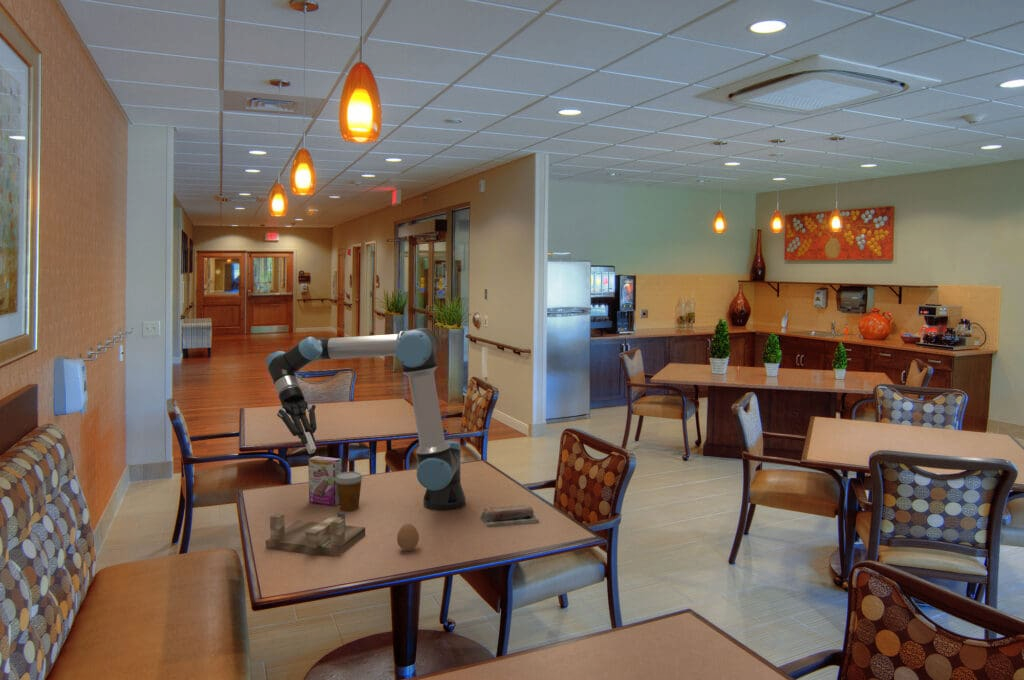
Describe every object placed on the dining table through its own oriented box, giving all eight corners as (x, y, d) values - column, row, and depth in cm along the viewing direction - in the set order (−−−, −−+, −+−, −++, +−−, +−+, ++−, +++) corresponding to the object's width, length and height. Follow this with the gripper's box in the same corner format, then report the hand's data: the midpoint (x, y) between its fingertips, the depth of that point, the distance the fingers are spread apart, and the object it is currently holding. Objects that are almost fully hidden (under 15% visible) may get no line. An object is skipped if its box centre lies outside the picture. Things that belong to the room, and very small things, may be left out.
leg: (332, 530, 222) (332, 516, 222) (342, 531, 221) (342, 517, 221) (305, 546, 209) (305, 531, 209) (315, 547, 208) (315, 533, 208)
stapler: (486, 514, 233) (480, 504, 242) (486, 528, 233) (480, 518, 243) (539, 510, 237) (531, 500, 247) (539, 524, 238) (531, 514, 247)
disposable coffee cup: (366, 504, 256) (366, 471, 254) (358, 513, 246) (357, 479, 245) (340, 503, 257) (340, 470, 255) (331, 512, 247) (330, 478, 246)
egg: (403, 545, 218) (403, 519, 217) (422, 547, 216) (422, 521, 215) (393, 553, 212) (393, 526, 211) (413, 555, 210) (412, 528, 209)
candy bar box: (308, 503, 257) (307, 458, 255) (316, 499, 261) (315, 455, 260) (335, 506, 253) (334, 461, 251) (342, 502, 258) (342, 458, 256)
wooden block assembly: (365, 534, 226) (364, 505, 225) (337, 556, 209) (337, 524, 208) (298, 527, 232) (297, 498, 231) (265, 548, 215) (264, 517, 214)
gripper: (305, 396, 245) (327, 454, 234) (267, 401, 236) (289, 461, 226) (311, 383, 240) (335, 441, 230) (273, 387, 232) (296, 448, 221)
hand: (312, 451), depth 228 cm, fingers closed
